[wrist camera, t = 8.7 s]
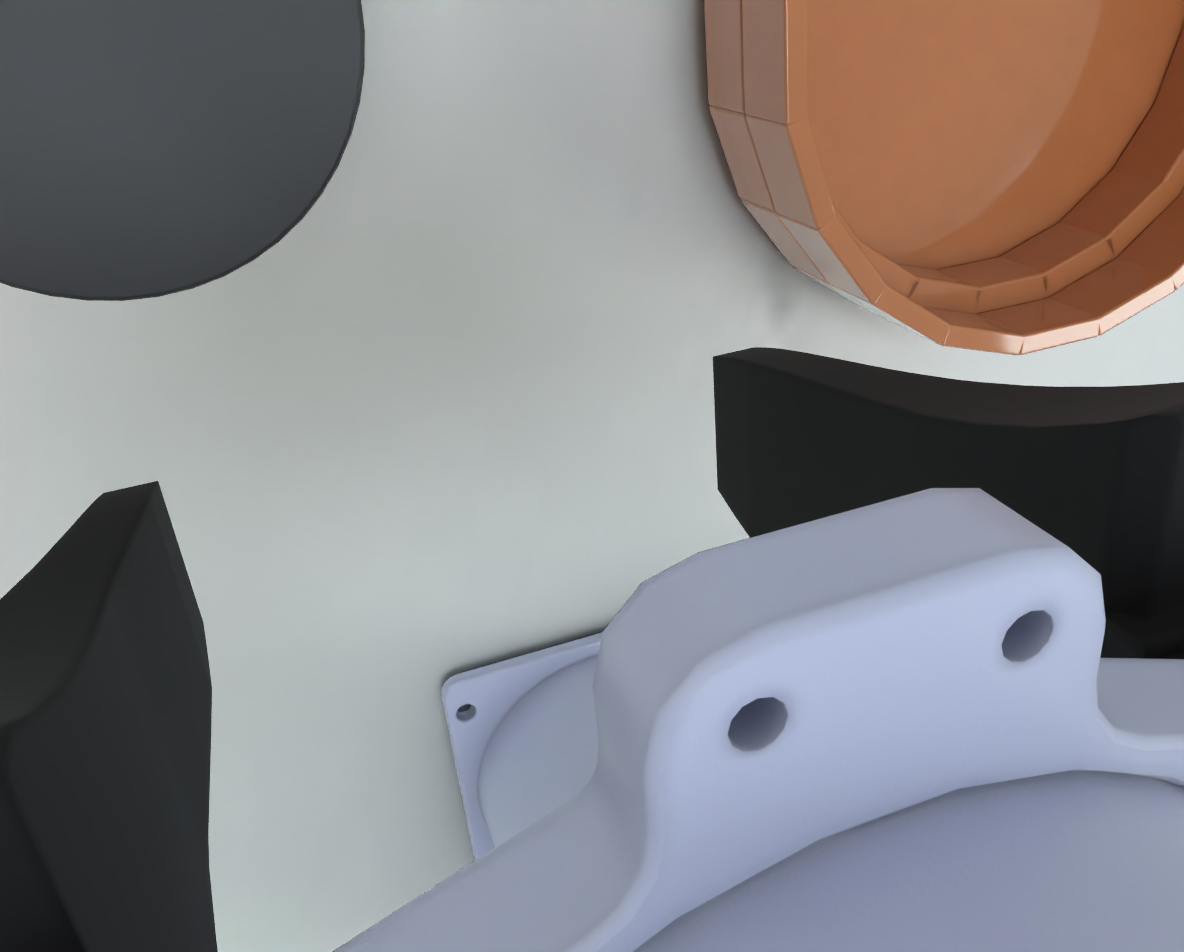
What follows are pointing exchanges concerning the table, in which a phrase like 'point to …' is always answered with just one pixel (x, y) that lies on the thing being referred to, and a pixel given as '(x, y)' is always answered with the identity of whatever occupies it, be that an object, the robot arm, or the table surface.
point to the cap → (165, 136)
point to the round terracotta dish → (962, 156)
